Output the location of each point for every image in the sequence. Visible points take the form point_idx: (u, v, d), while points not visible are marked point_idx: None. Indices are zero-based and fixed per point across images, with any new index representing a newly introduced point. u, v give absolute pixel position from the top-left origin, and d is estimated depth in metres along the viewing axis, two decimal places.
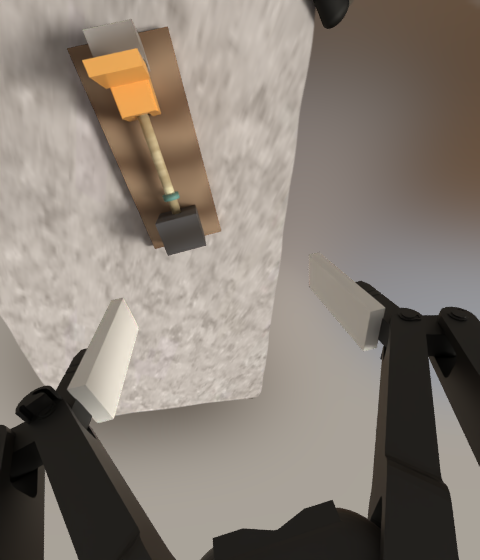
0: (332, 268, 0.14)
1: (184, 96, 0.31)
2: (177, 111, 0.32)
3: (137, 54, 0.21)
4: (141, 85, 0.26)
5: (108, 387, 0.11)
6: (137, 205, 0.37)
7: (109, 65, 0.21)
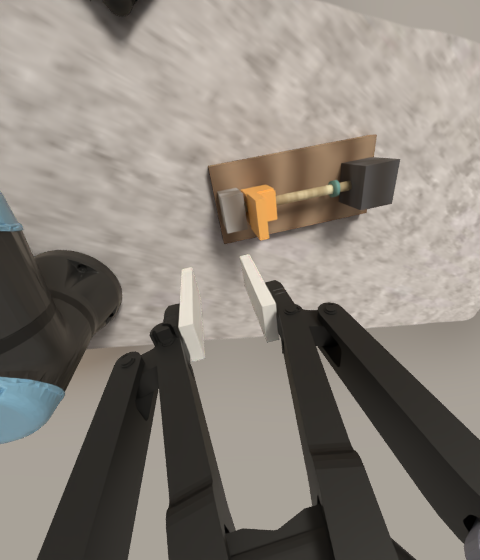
0: (252, 268, 0.16)
1: (253, 159, 0.34)
2: (264, 168, 0.35)
3: (258, 200, 0.27)
4: None
5: (199, 333, 0.13)
6: (326, 220, 0.41)
7: (263, 223, 0.28)
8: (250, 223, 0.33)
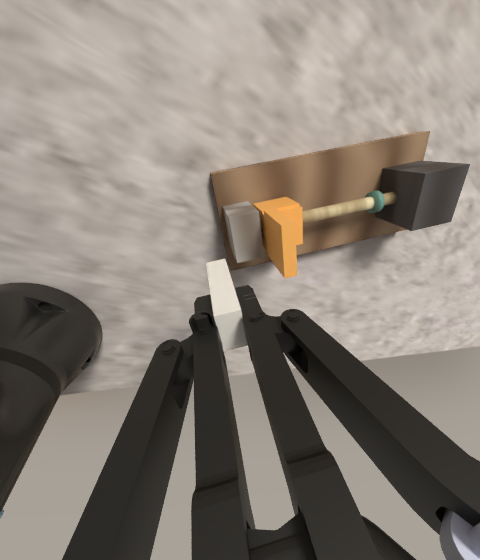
0: (225, 273, 0.16)
1: (271, 164, 0.25)
2: (284, 176, 0.26)
3: (286, 226, 0.19)
4: None
5: None
6: (358, 239, 0.33)
7: (291, 255, 0.20)
8: (267, 249, 0.25)
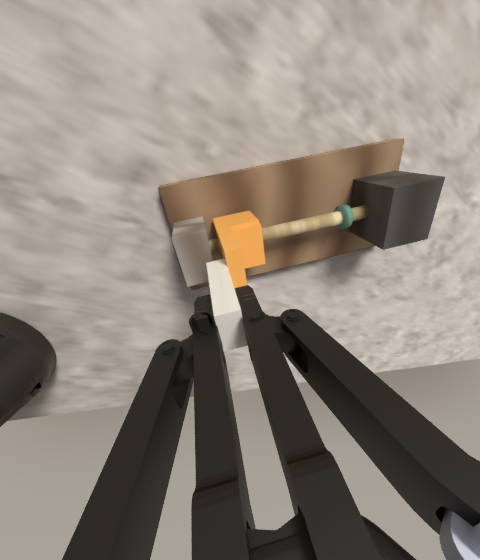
0: (225, 273, 0.16)
1: (226, 176, 0.23)
2: (242, 189, 0.24)
3: (230, 251, 0.16)
4: (236, 237, 0.21)
5: None
6: (331, 254, 0.30)
7: (240, 283, 0.18)
8: None
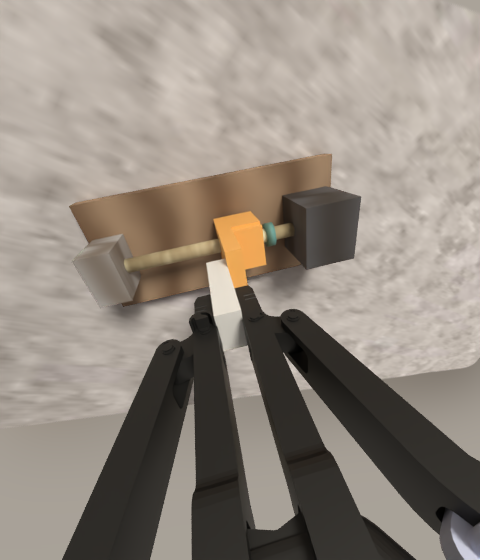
0: (225, 273, 0.16)
1: (142, 193, 0.22)
2: (161, 206, 0.23)
3: (230, 252, 0.16)
4: (237, 238, 0.21)
5: None
6: (270, 270, 0.29)
7: (240, 284, 0.17)
8: None
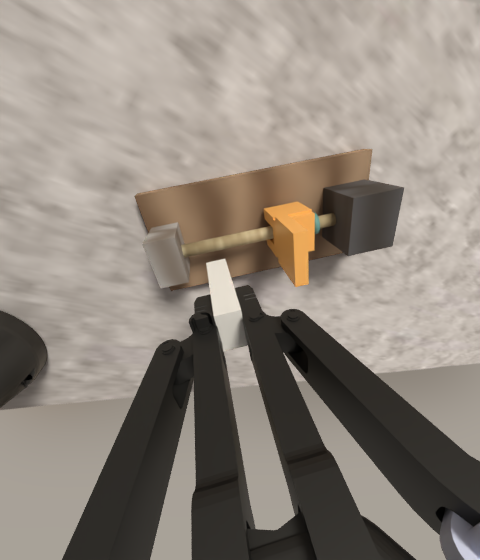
0: (225, 273, 0.16)
1: (198, 185, 0.24)
2: (214, 197, 0.25)
3: (298, 234, 0.18)
4: None
5: None
6: None
7: (302, 263, 0.19)
8: (277, 256, 0.24)
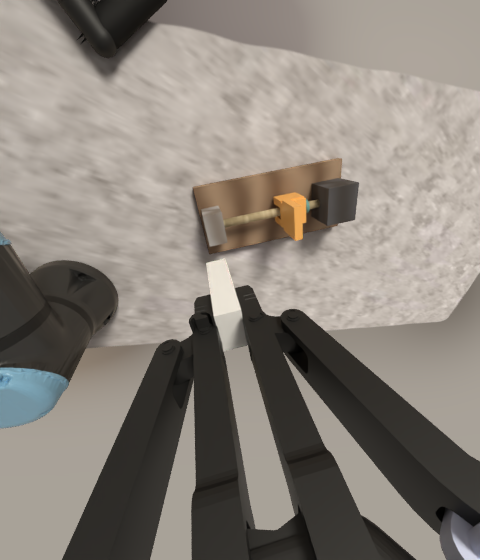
0: (225, 273, 0.16)
1: (233, 181, 0.39)
2: (242, 189, 0.39)
3: (296, 207, 0.32)
4: None
5: None
6: None
7: (299, 226, 0.34)
8: (283, 226, 0.39)
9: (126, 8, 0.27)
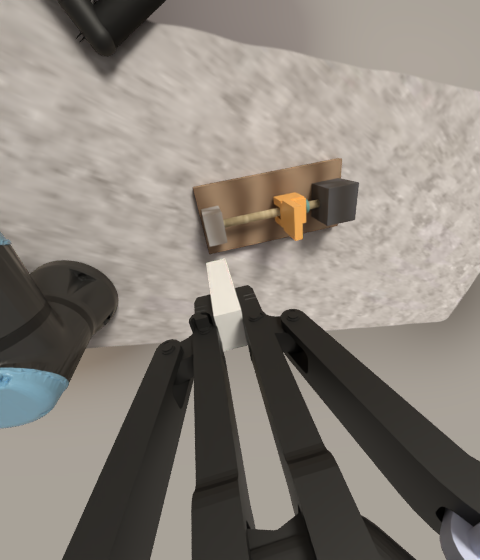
0: (225, 273, 0.16)
1: (233, 181, 0.39)
2: (242, 189, 0.39)
3: (296, 207, 0.32)
4: None
5: None
6: None
7: (299, 226, 0.34)
8: (283, 226, 0.39)
9: (125, 7, 0.26)
